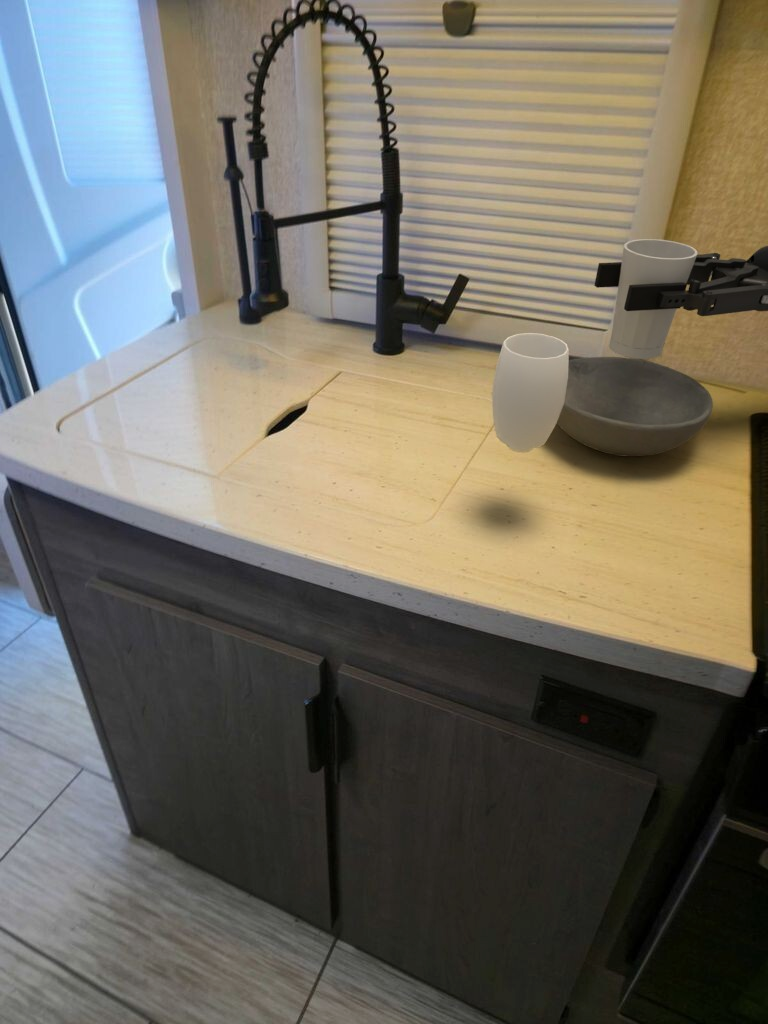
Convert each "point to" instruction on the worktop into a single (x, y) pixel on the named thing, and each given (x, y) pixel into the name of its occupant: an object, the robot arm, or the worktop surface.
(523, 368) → the cup
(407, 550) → the worktop surface
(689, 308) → the robot arm
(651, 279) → the cup
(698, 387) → the bowl
